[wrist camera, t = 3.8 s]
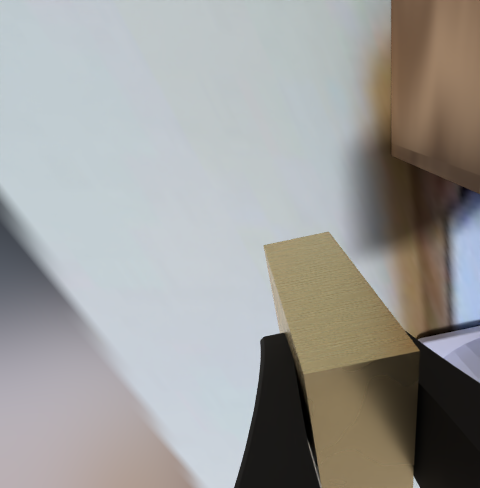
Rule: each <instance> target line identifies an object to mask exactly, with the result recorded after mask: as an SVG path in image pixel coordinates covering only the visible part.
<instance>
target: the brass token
mask: <svg viewBox="0 0 480 488" xmlns="http://www.w3.org/2000/svg"><path fill="white" fill-rule="evenodd" d="M264 251H265V256H266V261H267V267H268V272H269V277H270V282H271V288H272V293H273V298H274V304H275V309H276V314H277V320H278V325H279V330H280V333H285V336H286V338H287V341H288V344H289V347H290V351H291V354H292V357H293V360H294V365H295V371H296V376H297V382H298V388H299V393H300V399H301V405H302V410H303V416H304V421H305V427H306V433H307V438H308V444H309V448H310V452H311V455H312V459H313V463H314V466H315V470H316V473H317V477H318V481H319V484H320V488H413V475H414V456H415V437H416V418H417V399H418V380H419V361H420V350H419V349H418V348H417V346H416V345H415V344H414V342H413V341H412V340H411V338H410V337H409V336H408V335H407V333H406V332H405V331H404V329H403V328H402V327H401V325H400V324H399V323H398V321H397V320H396V319H395V318H394V316H393V315H392V314H391V312H390V311H389V310H388V308H387V307H386V306H385V304H384V303H383V302H382V301H381V299H380V298H379V297H378V295H377V294H376V293H375V291H374V290H373V289H372V288H371V286H370V285H369V284H368V282H367V281H366V280H365V278H364V277H363V276H362V274H361V273H360V272H359V271H358V269H357V268H356V267H355V265H354V264H353V263H352V261H351V260H350V259H349V258H348V256H347V255H346V254H345V252H344V251H343V250H342V248H341V247H340V246H339V244H338V243H337V242H336V241H335V239H334V238H333V237H332V235H331V234H330V233H329V232H324V233H320V234H315V235H310V236H306V237H301V238H296V239H291V240H287V241H282V242H277V243H273V244H268V245H264Z"/></svg>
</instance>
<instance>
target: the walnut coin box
mask: <svg viewBox="0 0 480 488" xmlns="http://www.w3.org/2000/svg"><path fill="white" fill-rule="evenodd" d="M391 156H393V157H396V158H398V159H400V160H403V161H405V162H407V163H410V164H412V165H414V166H416V167H419V168H421V169H423V170H426V171H428V172H430V173H433V174H435V175H437V176H439V177H442V178H444V179H446V180H449V181H451V182H453V183H456V184H458V185H460V186H463V187H465V188H467V189H469V190H472V191H474V192H476V193H479V194H480V0H391Z"/></svg>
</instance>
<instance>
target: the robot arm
mask: <svg viewBox="0 0 480 488" xmlns="http://www.w3.org/2000/svg"><path fill="white" fill-rule="evenodd" d="M404 331H405V330H404ZM405 332H406V331H405ZM406 333H407V335H408V336H409V337H410V338H411V340H412V341H413V342H414V344H415V345H416V346H417V348H418V349H419V350H420V361H419V380H418V399H417V418H416V437H415V456H414V477H415V479H416V481H417V483H418V484H419V486H420V488H480V326H477V327H472V328H467V329H463V330H458V331H453V332H448V333H443V334H439V335H434V336H429V337H424V338H420V339H418V340H417V339H416V338H414V337H413V336H412V335H410V334H409V333H408V332H406ZM260 344H261V363H260V374H259V382H258V388H257V395H256V401H255V407H254V412H253V417H252V421H251V426H250V430H249V435H248V439H247V443H246V448H245V451H244V455H243V459H242V463H241V466H240V470H239V473H238V477H237V480H236V483H235V487H234V488H320V484H319V481H318V477H317V473H316V470H315V466H314V463H313V459H312V455H311V452H310V448H309V444H308V438H307V433H306V427H305V421H304V416H303V410H302V405H301V399H300V393H299V388H298V382H297V376H296V371H295V365H294V360H293V357H292V354H291V351H290V347H289V344H288V341H287V338H286V336H285V333H280V334H275V335H270V336H265V337H263V338H262V339H261V341H260Z"/></svg>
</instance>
